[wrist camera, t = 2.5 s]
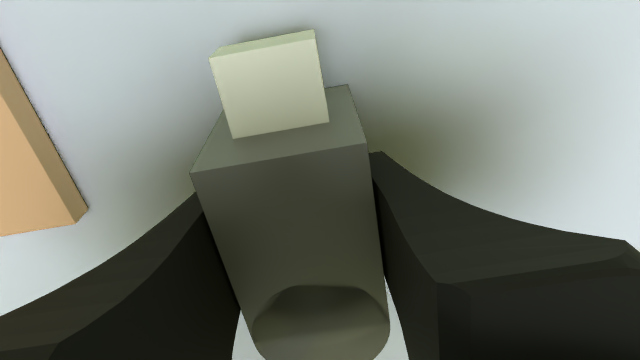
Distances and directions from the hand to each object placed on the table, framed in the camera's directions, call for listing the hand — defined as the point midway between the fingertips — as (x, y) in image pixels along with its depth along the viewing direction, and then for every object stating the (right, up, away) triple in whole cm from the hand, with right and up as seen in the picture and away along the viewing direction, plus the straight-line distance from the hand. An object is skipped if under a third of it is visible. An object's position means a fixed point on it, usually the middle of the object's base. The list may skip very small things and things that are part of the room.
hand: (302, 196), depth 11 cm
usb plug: (0, +1, +1) cm, 1 cm away
